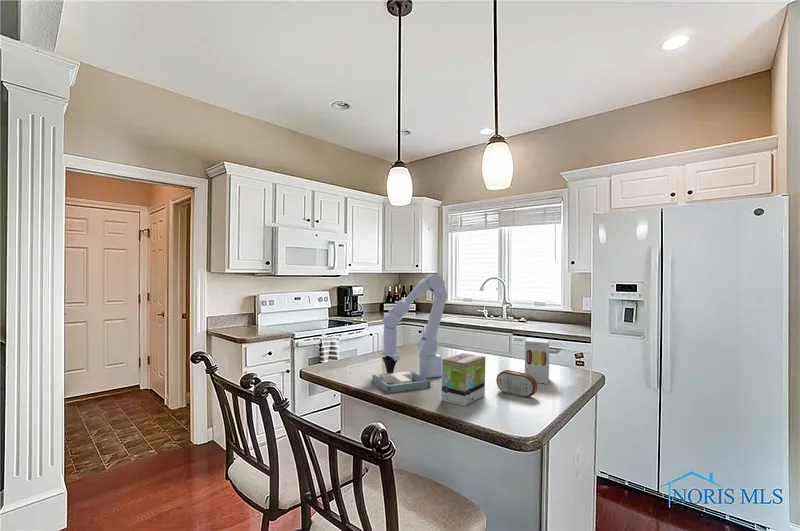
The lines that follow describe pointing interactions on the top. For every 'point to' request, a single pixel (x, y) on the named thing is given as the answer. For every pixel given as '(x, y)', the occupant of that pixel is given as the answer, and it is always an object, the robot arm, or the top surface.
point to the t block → (396, 377)
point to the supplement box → (537, 359)
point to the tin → (516, 383)
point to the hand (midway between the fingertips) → (389, 374)
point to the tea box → (463, 378)
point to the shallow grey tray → (403, 384)
